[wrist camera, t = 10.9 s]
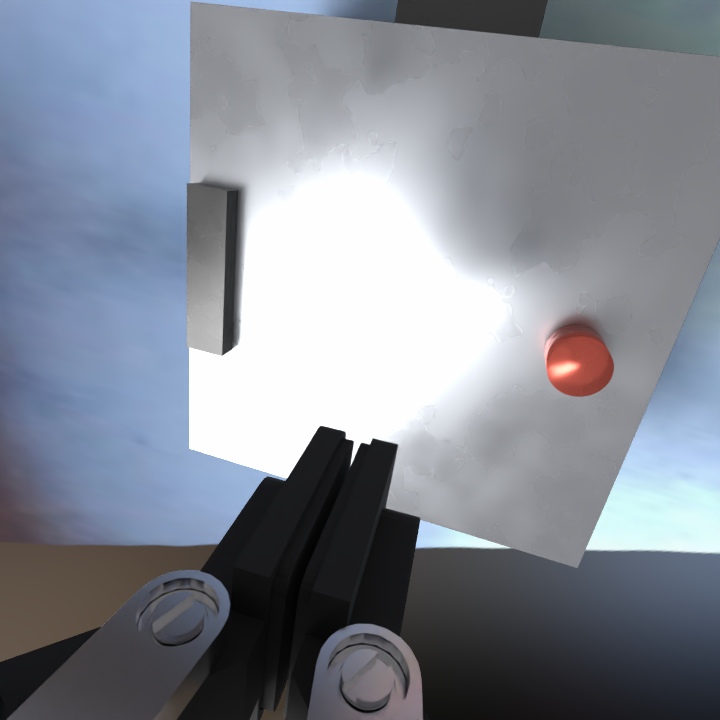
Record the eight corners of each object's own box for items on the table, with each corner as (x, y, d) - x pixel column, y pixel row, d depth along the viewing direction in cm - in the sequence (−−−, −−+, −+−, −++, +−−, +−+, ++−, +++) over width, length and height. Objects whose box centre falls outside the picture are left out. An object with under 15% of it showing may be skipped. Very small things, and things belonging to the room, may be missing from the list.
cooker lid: (206, 9, 21) (159, -14, 18) (777, 70, 17) (831, 51, 14) (201, 438, 30) (168, 466, 27) (574, 551, 26) (582, 599, 23)
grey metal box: (305, 5, 31) (208, -77, 20) (677, 47, 28) (801, -24, 17) (273, 395, 42) (201, 477, 31) (535, 459, 39) (555, 575, 28)
